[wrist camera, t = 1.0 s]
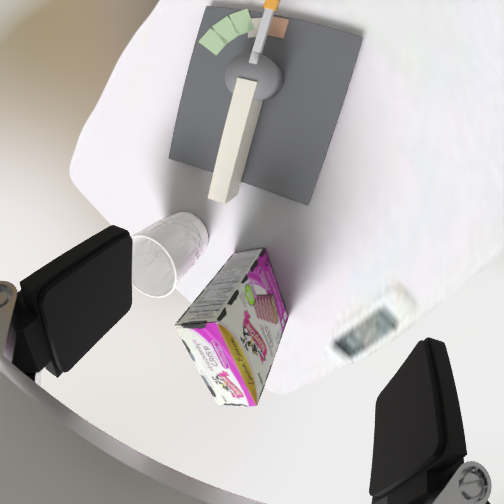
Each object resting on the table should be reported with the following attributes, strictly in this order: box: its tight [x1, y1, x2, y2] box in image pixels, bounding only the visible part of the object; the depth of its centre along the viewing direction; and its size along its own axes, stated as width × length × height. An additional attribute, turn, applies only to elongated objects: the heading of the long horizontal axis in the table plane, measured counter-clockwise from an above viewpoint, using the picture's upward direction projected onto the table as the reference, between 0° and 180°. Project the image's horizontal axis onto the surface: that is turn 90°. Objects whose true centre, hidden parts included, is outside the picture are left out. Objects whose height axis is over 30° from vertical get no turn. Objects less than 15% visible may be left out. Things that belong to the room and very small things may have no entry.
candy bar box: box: [175, 248, 288, 406], centre depth 35 cm, size 11×5×16 cm, turn 20°
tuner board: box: [169, 6, 362, 205], centre depth 31 cm, size 20×18×1 cm
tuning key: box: [208, 0, 283, 204], centre depth 29 cm, size 22×5×4 cm, turn 165°
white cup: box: [131, 212, 209, 298], centre depth 38 cm, size 8×8×10 cm
